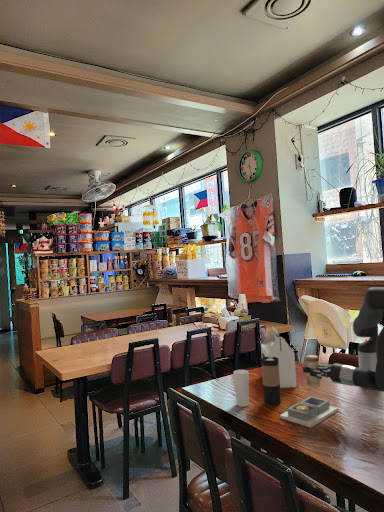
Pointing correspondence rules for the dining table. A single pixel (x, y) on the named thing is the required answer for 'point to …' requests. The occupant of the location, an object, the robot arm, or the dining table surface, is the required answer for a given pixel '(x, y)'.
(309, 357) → the lidded cup
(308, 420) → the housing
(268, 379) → the travel mug
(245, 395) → the white cylinder
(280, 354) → the gable box
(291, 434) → the dining table surface
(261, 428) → the dining table surface
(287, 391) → the dining table surface
